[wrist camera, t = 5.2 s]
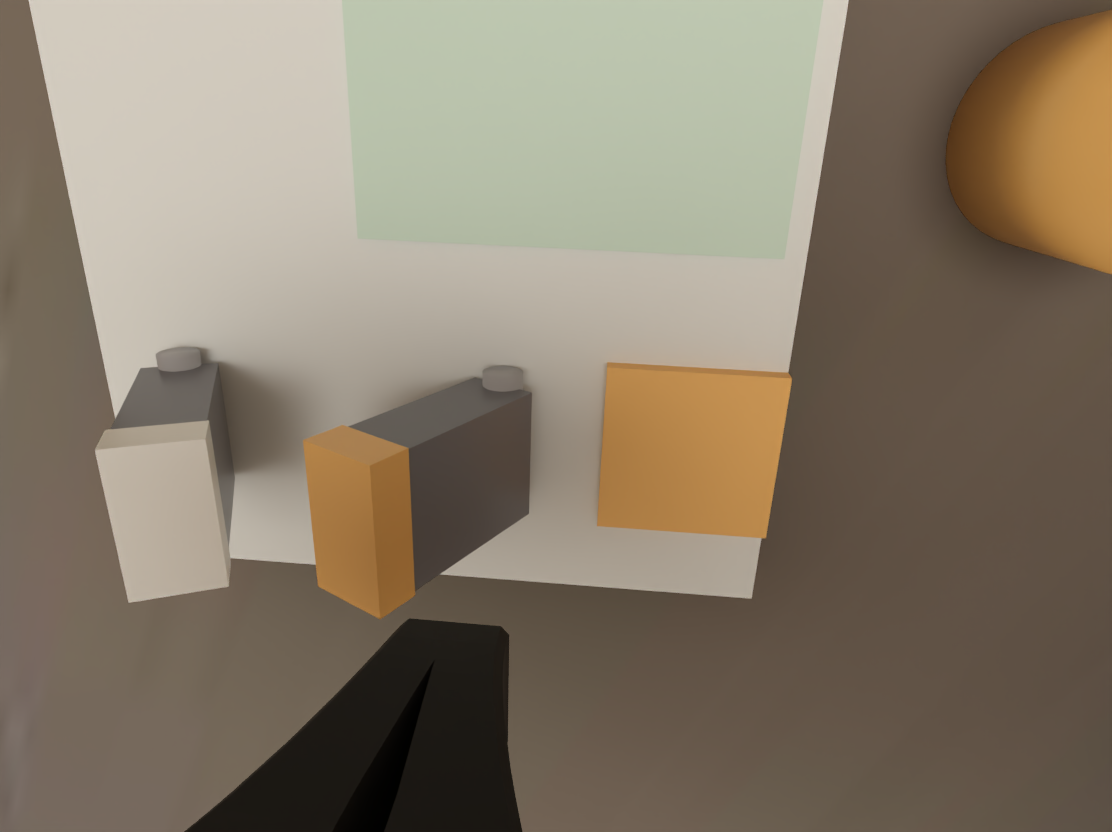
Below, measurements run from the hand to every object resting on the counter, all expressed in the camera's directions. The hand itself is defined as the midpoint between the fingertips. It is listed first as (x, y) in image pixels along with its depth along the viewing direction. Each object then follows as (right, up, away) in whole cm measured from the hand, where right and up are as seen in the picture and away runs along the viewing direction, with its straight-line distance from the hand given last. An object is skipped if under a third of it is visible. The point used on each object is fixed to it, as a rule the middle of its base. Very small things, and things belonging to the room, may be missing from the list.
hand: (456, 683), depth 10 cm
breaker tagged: (0, +3, +8) cm, 8 cm away
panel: (-1, +9, +7) cm, 11 cm away
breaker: (-8, +4, +8) cm, 12 cm away
